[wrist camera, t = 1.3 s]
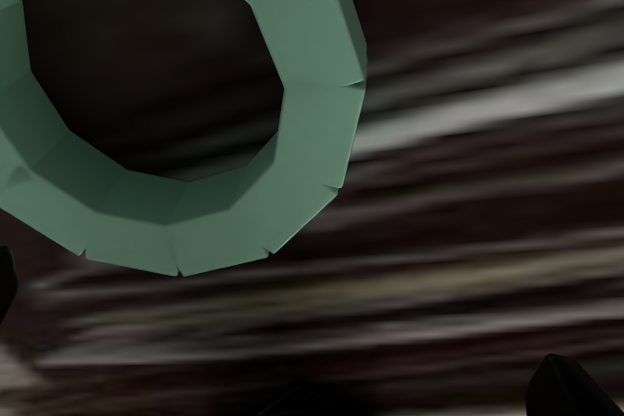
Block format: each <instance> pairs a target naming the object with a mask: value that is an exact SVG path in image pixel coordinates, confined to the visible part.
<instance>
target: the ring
mask: <svg viewBox="0 0 624 416" xmlns="http://www.w3.org/2000/svg"><path fill="white" fill-rule="evenodd" d="M245 1H246V2H248V3H249V4H250V5H251V8H252V10H253V13H254V15H255V18H256V20H257V22H258V25H259V27H260V30H261V32H262V35H263V37H264V40H265V42H266V44H267V47H268V49H269V52H270V54H271V57H272V59H273V61H274V64H275V66H276V69H277V71H278V74H279V76H280V79H281V81H282V83H283V86H284V94H283V101H282V107H281V114H280V121H279V127H278V131H277V133H276V134H275V135H274V136H273V137H272V138H271V139H270V140H269V141H268V143H267V144H266V145H265V146H264V147H263V148H262V149H261V150H260V151H259V152H258V154H257V155H256V156H255V157H254V158H253V159H252V160H251V161H250V162H249V163H248V165H247V166H245V167H241V168H238V169H234V170H231V171H227V172H224V173H220V174H216V175H213V176H209V177H206V178H202V179H199V180H195V181H192V182H185V181H180V180H175V179H170V178H165V177H160V176H155V175H150V174H145V173H140V172H135V171H130V170H126V169H125V168H124V167H122V166H121V165H119V164H118V163H116V162H115V161H113V160H112V159H110V158H109V157H108V156H106V155H105V154H103V153H102V152H100V151H99V150H97V149H96V148H94V147H93V146H92V145H90V144H89V143H87V142H86V141H84V140H83V139H81V138H80V137H78V136H77V135H76V134H74V133H73V132H71V131H70V130H69V129H68V128H67V126H66V124H65V123H64V121H63V120H62V118H61V117H60V115H59V114H58V112H57V110H56V109H55V107H54V106H53V104H52V103H51V101H50V100H49V98H48V97H47V95H46V93H45V92H44V90H43V89H42V87H41V86H40V84H39V83H38V81H37V80H36V78H35V76H34V75H33V73H32V72H31V68H30V60H29V52H28V43H27V35H26V27H25V19H24V11H23V2H22V0H0V208H2V209H3V210H5V211H7V212H8V213H10V214H11V215H13V216H15V217H16V218H18V219H19V220H21V221H23V222H24V223H26V224H28V225H29V226H31V227H32V228H34V229H36V230H37V231H39V232H41V233H42V234H44V235H45V236H47V237H49V238H50V239H52V240H53V241H55V242H57V243H58V244H60V245H62V246H63V247H65V248H66V249H68V250H70V251H71V252H73V253H75V254H76V255H80V254H81V253H82V252H83V251H84V249H85V253H86V258H87V259H90V260H95V261H100V262H105V263H110V264H115V265H120V266H126V267H131V268H136V269H141V270H146V271H151V272H156V273H161V274H166V275H171V276H177V274H178V272H179V270H180V272H181V273H182V275H183V276H189V275H193V274H197V273H202V272H206V271H210V270H215V269H219V268H223V267H228V266H232V265H236V264H241V263H245V262H249V261H254V260H258V259H262V258H266V257H268V254H269V251H270V252H272V253H275V252H277V251H278V250H279V249H280V248H281V247H282V246H283V245H284V244H285V243H286V242H287V241H288V240H289V239H291V238H292V237H293V236H294V235H295V234H296V233H297V232H298V231H299V230H300V229H301V228H302V227H303V226H305V225H306V224H307V223H308V222H309V221H310V220H311V219H312V218H313V217H314V216H315V215H316V214H317V213H318V212H320V211H321V210H322V209H323V208H324V207H325V206H326V205H327V204H328V203H329V202H330V201H331V200H332V199H333V198H335V197H336V196H337V194H338V188H341V187H342V186H343V182H344V178H345V174H346V169H347V165H348V161H349V157H350V153H351V149H352V144H353V140H354V136H355V132H356V128H357V123H358V119H359V115H360V111H361V107H362V102H363V98H364V94H365V87H366V71H367V55H366V49H367V44H366V41H365V38H364V35H363V32H362V28H361V25H360V22H359V19H358V16H357V13H356V9H355V6H354V3H353V0H245Z"/></svg>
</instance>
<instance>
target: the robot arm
mask: <svg viewBox="0 0 624 416" xmlns="http://www.w3.org/2000/svg"><path fill="white" fill-rule="evenodd" d="M17 289H18V281H17V275H16V269H15V263H14V258H13V253H12V251H11V249H10V248H9V247H7V246H3V245H0V325H1V323H2V322H3V320H4V318H5V316H6V314H7V312H8V310H9V308H10V306H11V304H12V302H13V300H14V298H15V296H16V293H17ZM526 412H527V416H624V412H623V411H622V410H621V409H620V408H619V407H618V406H617V405H616V404H615V403H614V401H613V400H612V399H611V398H610V397H609V396H608V395H607V394H606V393H605V392H604V391H603V389H602V388H601V387H600V386H599V385H598V384H597V383H596V382H595V381H594V380H593V379H592V377H591V376H590V375H589V374H588V373H587V372H586V371H585V370H584V369H583V368H582V367H581V365H580V364H579V363H578V362H577V361H576V360H574V359H573V358H571V357H566V356H561V355H556V354H548V355H546V356H545V357H544V358H543V360H542V361H541V363H540V365H539V366H538V368H537V370H536V371H535V373H534V375H533V376H532V378H531V380H530V381H529V383H528V385H527V389H526ZM248 416H362V415H360V414H358V413H357V412H355V411H354V410H352V409H350V408H349V407H347V406H346V405H344V404H343V403H341V402H339V401H338V400H336V399H335V398H333V397H331V396H330V395H328V394H327V393H325V392H323V391H322V390H320V389H319V388H317V387H315V386H314V385H312V384H311V383H309V382H307V381H302V380H300V381H295V382H293V383H292V384H290V385H289V386H288V387H286V388H285V389H283V390H282V391H281V392H279V393H278V394H277V395H275V396H274V397H272V398H271V399H270V400H268V401H267V402H266V403H264V404H263V405H262V406H260V407H259V408H257V409H256V410H255V411H253V412H252V413H251V414H249V415H248Z"/></svg>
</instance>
